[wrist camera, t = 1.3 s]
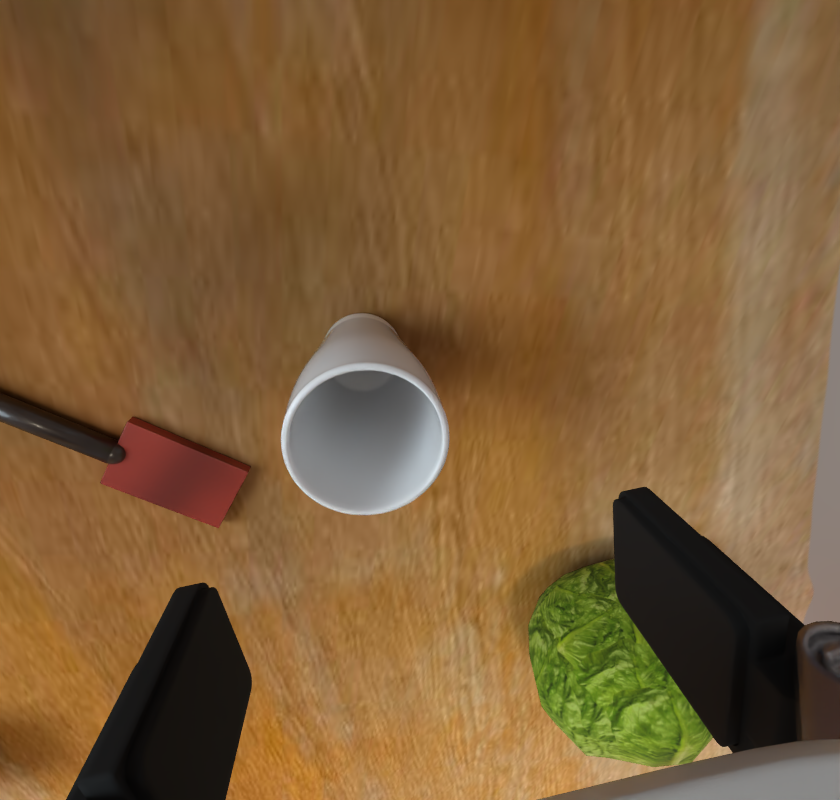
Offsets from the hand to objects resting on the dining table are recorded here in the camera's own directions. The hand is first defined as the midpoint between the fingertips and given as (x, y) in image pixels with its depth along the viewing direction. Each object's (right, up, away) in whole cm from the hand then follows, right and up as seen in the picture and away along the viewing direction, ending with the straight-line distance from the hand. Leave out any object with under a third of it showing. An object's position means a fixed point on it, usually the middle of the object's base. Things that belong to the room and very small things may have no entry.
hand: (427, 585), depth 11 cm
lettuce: (+17, -18, +34) cm, 42 cm away
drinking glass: (-4, +8, +22) cm, 23 cm away
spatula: (-22, +2, +22) cm, 31 cm away
